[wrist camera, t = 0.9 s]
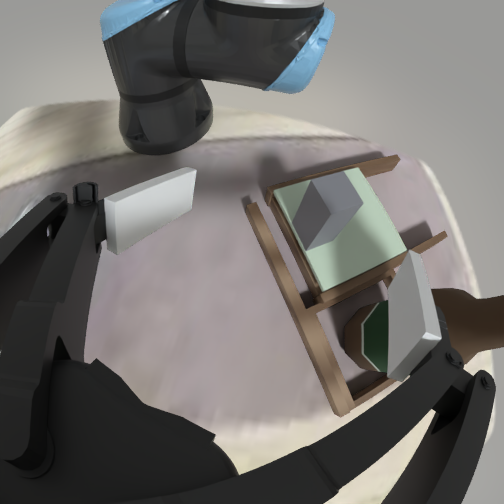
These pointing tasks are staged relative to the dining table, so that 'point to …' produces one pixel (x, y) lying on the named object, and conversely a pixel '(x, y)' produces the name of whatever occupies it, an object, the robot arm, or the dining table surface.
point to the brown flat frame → (322, 300)
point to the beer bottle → (457, 319)
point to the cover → (339, 225)
